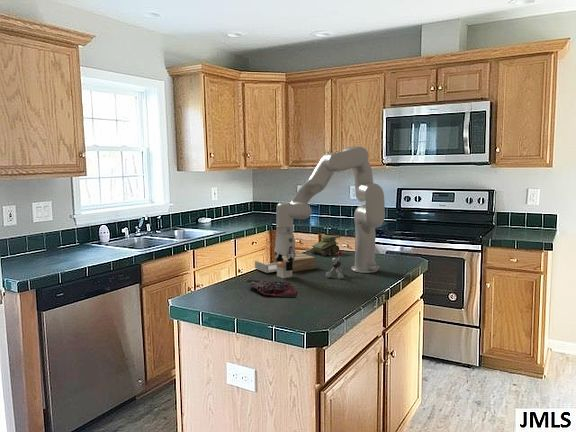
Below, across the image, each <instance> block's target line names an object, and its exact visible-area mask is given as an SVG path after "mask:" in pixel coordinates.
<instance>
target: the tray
mask: <svg viewBox="0 0 576 432" xmlns="http://www.w3.org/2000/svg"><path fill="white" fill-rule="evenodd" d="M254 268H255V270H259V271H261V272H264V273H267V274H269V273H274V272H277V263H267V264H266V263H264V262H261V261H258V260H255V261H254Z"/></svg>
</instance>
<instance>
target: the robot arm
mask: <svg viewBox="0 0 576 432" xmlns="http://www.w3.org/2000/svg"><path fill="white" fill-rule="evenodd" d="M369 155H370V154H369V151H368V150H367V149H366V148H365V147H363V146H347V147H345V148H343V150H342V151H339V152H338V151H337V152H327V153H324V155H323V156H322V157H321V158H320V160H319V162H318V163H317V165H316V166H315V168H314V170H313V172H312V173H311V175H310V176H309V178H308V179H307V180H306V182H304V183H303V185H302V186H301V187H300V188H299V189H298V190H297V191H296V193H295V195H294V196H293V198H292V200H291V201H290V202H279V203H278V204H276V209H275V210H276V213H275V214H276V220H275V221H276V230H275V231H276V232H275V233H276V234H275V235H276V236H275V244H274V245H275V247H274V249H273V251H274V256H276V259H277V261H282V260H283V258H282V256H286V259H287V262H286V271H290V270H293V260H294V258H295V256H296V254H295V253H296V243H295V242H296V241H295V235H294V220H295V219H296V220H306V219H308V218H310V216H311V215H312V212H313V211H312V208H311V206H310V204H308V203H309V202H310V201H311V200H312V199H313V197H315V196H316V195H317V194H319V193H321V192H323V191H324V190H325V189H326V187H327V186H328V184H329V182H330V181H331V179H332V177H333V175H334V174H335V173H340V172H344V171H347V170H351V169H352V172H353V176H354V190H355V198H356V199H357V200H358V201H359V202H360V203H364V204H362V205H358V206H357V208H355V210H354V214H353V218H354V219H353V220H354V227H355V232H354V234H355V236H354V237H355V238H354V239H355V241H354V243H355V244H354V265H352V266H351V269H350V270H351V271H352V272H356V273H360V274H370V273H371V274H372V273H376V272H378V271H379V269H380V265H377V261H376V260H375V259H376V237H377V236H376V234H377V233H376V228H379V227H381V226H382V225H383V224H384V222H385V218H386V210H385V209H386V208H385V207H386V206H385V193H384V190H383V188H382V187H381V186H380V184H377V183H374V177H373V175H374V174H373V169H372V166H371V163H370V162H369V157H370V156H369ZM288 254H290V255H288ZM288 257H290V258H288Z"/></svg>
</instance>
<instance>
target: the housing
mask: <svg viewBox="0 0 576 432" xmlns="http://www.w3.org/2000/svg"><path fill="white" fill-rule="evenodd" d="M295 254H296V256H295V258H294V260H293V270H292V273H294V272H300V271H306V270H314V269H316V267H317V266H316V263H317V262H316V260H317V258H316V257H315V256H312V255H309V254H305V253H302V252H295ZM288 255H290V254H288ZM282 258H283V260H287V259H286V256H282ZM288 258H290V257H288ZM274 263H277V259H276V255H274Z"/></svg>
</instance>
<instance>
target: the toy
mask: <svg viewBox="0 0 576 432" xmlns="http://www.w3.org/2000/svg"><path fill="white" fill-rule="evenodd" d="M339 238H342V235H335V236H334V235H330V234H329V235H323V236H322V237H321V241H318V242H317V243H316V244H314V245H312V246H311V247H312V248H311V250H310V252H311V255H320V256H321V257H327V256H326V255H329V254H336V253H338V252H339V251H340V247H339V246H338V244H339V242H337V241H336V239H339ZM336 255H337V254H336Z"/></svg>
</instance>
